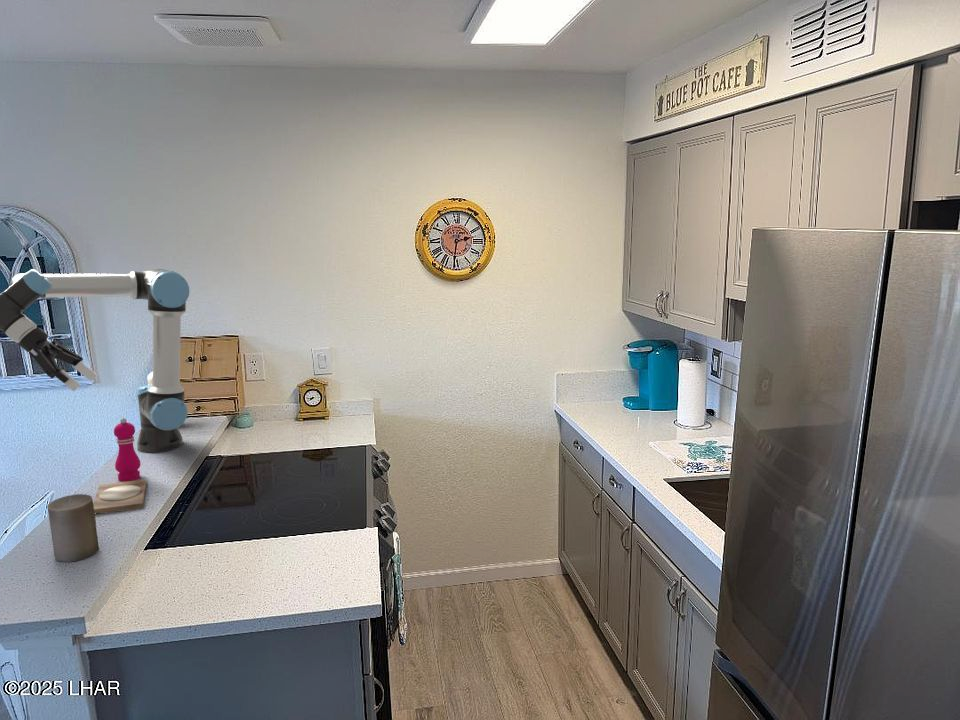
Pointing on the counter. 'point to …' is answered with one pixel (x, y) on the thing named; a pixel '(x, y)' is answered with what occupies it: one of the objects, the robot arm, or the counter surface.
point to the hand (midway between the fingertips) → (86, 383)
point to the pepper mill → (126, 452)
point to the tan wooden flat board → (120, 496)
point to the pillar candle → (73, 527)
